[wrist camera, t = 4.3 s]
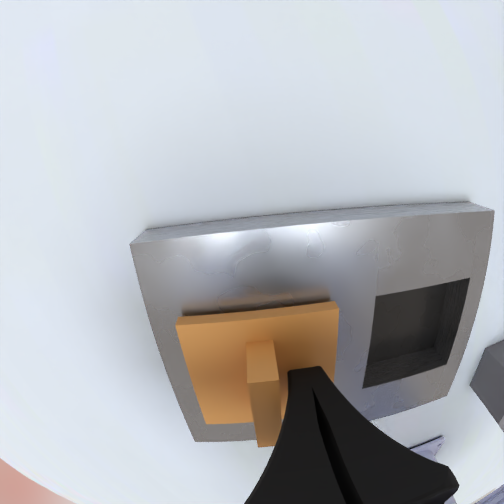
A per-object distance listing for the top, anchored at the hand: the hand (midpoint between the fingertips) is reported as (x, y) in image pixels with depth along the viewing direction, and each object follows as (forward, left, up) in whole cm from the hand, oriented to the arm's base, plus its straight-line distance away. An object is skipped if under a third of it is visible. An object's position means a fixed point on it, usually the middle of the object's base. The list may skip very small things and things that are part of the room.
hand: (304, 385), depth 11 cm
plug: (-7, -17, -4) cm, 19 cm away
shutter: (0, +2, -1) cm, 2 cm away
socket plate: (0, -2, -4) cm, 4 cm away
